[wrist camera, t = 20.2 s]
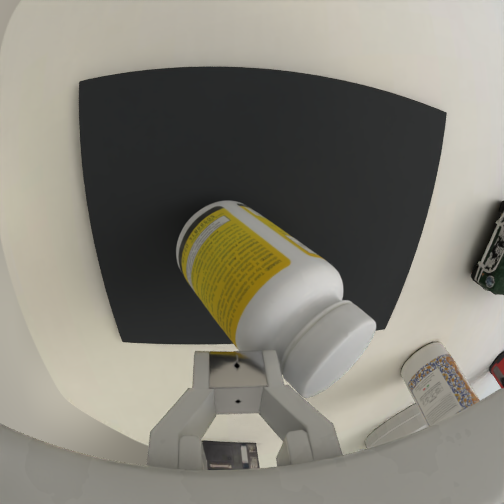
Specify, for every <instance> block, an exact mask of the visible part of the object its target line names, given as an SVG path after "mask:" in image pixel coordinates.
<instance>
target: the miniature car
mask: <svg viewBox="0 0 504 504" xmlns="http://www.w3.org/2000/svg"><path fill="white" fill-rule="evenodd" d="M499 212H501V213H502V215H501V217H500V219H499V220H497V221H496V222H495V223H497V226H496V229H495V231H494V233H493V235H492V238H491V240H490V242H489V244H488V246H487V248H486V251H485V253H484V255H483V258H482V260H481V262H480V261H479V262H478V265H479V266H478V265H475V267H474V269H473V272H472V274H471V278H472V279H473V281H475V282H476V283H477V284H479V285H480V286H481V287H483V289H485V290H487V291H491V292H492V293H493V294H501V295H504V201H502V204H501V207H500V210H499Z"/></svg>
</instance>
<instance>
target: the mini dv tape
mask: <svg viewBox="0 0 504 504" xmlns="http://www.w3.org/2000/svg"><path fill="white" fill-rule="evenodd" d="M202 445H203V449H204V452H205V456H206V460H207V470H242V469H257V468H260V467H259V461H258V454H257V447H256V443H230V442H213V441H203V442H202Z"/></svg>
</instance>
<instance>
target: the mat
mask: <svg viewBox="0 0 504 504" xmlns="http://www.w3.org/2000/svg"><path fill="white" fill-rule="evenodd" d="M446 114H447V113H446V112H444V111H441V110H439V109H436V108H434V107H431V106H428V105H426V104H423V103H420V102H417V101H415V100H412V99H409V98H406V97H403V96H399V95H396V94H393V93H390V92H386V91H383V90H379V89H376V88H372V87H368V86H364V85H360V84H356V83H352V82H347V81H343V80H338V79H333V78H328V77H322V76H317V75H311V74H304V73H297V72H289V71H281V70H271V69H259V68H243V67H180V68H165V69H153V70H143V71H135V72H128V73H121V74H115V75H109V76H103V77H98V78H93V79H88V80H84V81H80V82H79V124H80V144H81V157H82V167H83V177H84V185H85V192H86V199H87V206H88V212H89V218H90V223H91V229H92V234H93V239H94V244H95V248H96V253H97V257H98V261H99V266H100V270H101V274H102V277H103V281H104V285H105V288H106V292H107V296H108V299H109V302H110V306H111V309H112V312H113V315H114V318H115V322H116V325H117V328H118V330H119V333H120V336H121V339H122V342H130V343H151V344H233V342H232V341H231V340H230V339H229V337H228V336H227V335H226V333H225V332H224V331H223V330H222V328H221V327H220V326H219V324H218V323H217V322H216V320H215V319H214V318H213V316H212V315H211V314H210V312H209V311H208V310H207V308H206V307H205V305H204V304H203V303H202V301H201V300H200V298H199V297H198V296H197V294H196V293H195V292H194V290H193V289H192V287H191V286H190V285H189V283H188V282H187V280H186V279H185V277H184V276H183V274H182V272H181V270H180V268H179V266H178V263H177V257H176V247H177V242H178V238H179V236H180V233H181V231H182V229H183V227H184V226H185V224H186V223H187V222H188V220H189V219H190V218H191V217H192V216H193V215H194V214H195V213H197V212H198V211H199V210H201V209H202V208H204V207H206V206H208V205H210V204H212V203H215V202H219V201H228V200H229V201H236V202H240V203H242V204H244V205H246V206H248V207H250V208H251V209H253V210H254V211H256V212H257V213H259V214H260V215H262V216H263V217H265V218H266V219H268V220H269V221H270V222H272V223H273V224H275V225H276V226H278V227H279V228H280V229H282V230H283V231H285V232H286V233H288V234H289V235H290V236H292V237H293V238H295V239H296V240H298V241H299V242H300V243H302V244H303V245H304V246H306V247H307V248H309V249H310V250H312V251H313V252H314V253H316V254H317V255H319V256H320V257H322V258H323V259H324V260H326V261H327V262H328V263H329V264H331V265H332V266H333V267H334V268H335V269H336V270H337V271H338V273H339V274H340V276H341V279H342V282H343V298H342V300H348V301H351V302H352V303H353V304H355V305H356V306H358V307H359V308H360V309H361V310H362V311H364V312H365V313H366V314H367V315H368V316H370V317H371V318H372V319H373V320H374V321H375V323H376V330H382V329H385V328H386V326H387V324H388V321H389V319H390V317H391V315H392V312H393V310H394V308H395V305H396V303H397V301H398V298H399V296H400V293H401V291H402V288H403V286H404V283H405V281H406V278H407V275H408V273H409V270H410V267H411V264H412V261H413V258H414V256H415V253H416V250H417V247H418V243H419V240H420V237H421V234H422V231H423V227H424V224H425V220H426V217H427V213H428V209H429V206H430V202H431V198H432V194H433V189H434V185H435V181H436V176H437V171H438V166H439V161H440V155H441V150H442V144H443V137H444V130H445V123H446ZM376 330H375V331H376Z"/></svg>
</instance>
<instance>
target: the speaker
mask: <svg viewBox="0 0 504 504" xmlns="http://www.w3.org/2000/svg"><path fill="white" fill-rule="evenodd" d="M490 373H491V374H492V375H493V376H494V378H495V379H496V381H497V382H498V384H499V385H500V387H501V388H504V352H503V353H502V354H500V355H499V356H498V357H497V358H496V359H495V361H494V363H493V364H492V365H491V367H490Z"/></svg>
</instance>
